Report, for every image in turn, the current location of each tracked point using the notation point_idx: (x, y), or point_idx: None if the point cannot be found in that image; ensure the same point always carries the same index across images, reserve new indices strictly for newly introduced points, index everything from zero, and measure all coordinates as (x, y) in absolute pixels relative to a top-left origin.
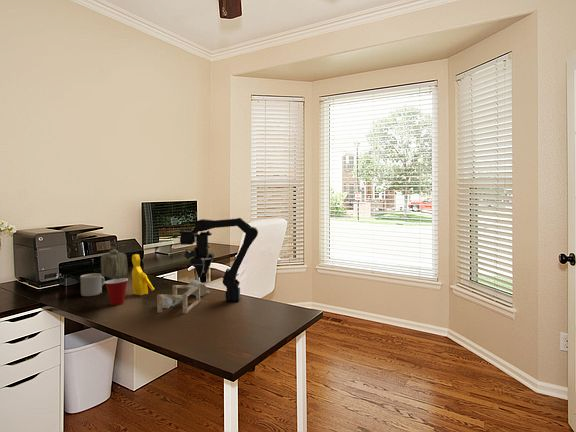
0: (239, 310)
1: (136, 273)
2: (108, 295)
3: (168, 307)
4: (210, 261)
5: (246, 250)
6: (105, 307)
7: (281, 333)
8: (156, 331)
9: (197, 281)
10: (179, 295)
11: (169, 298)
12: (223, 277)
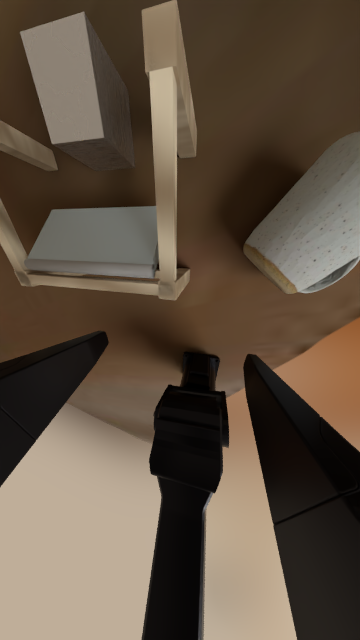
0: (134, 375)
1: None
2: None
3: (99, 169)
4: (292, 603)
5: None
6: None
7: (77, 404)
8: None
9: (351, 230)
10: (8, 254)
11: (79, 147)
12: (157, 423)
